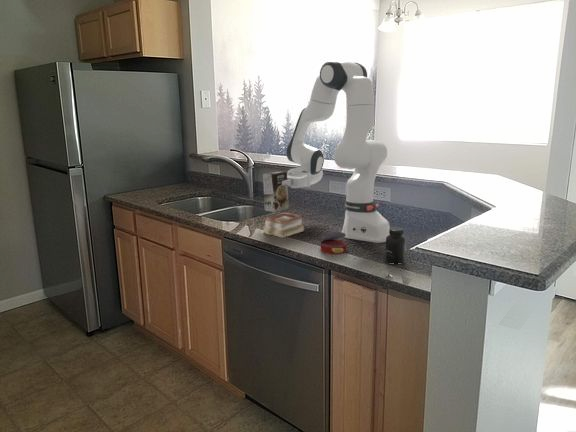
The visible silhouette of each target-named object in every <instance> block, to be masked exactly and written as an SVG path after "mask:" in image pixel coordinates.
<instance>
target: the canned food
mask: <svg viewBox="0 0 576 432" xmlns="http://www.w3.org/2000/svg"><path fill="white" fill-rule="evenodd" d="M345 235H346V234H344V233H342V231H333V232H329V233H327V234H326V235H324V236H323V237H322V238H320V240H319V241H320V252H321V253H323V252H324V254H327V253H328V254H327V255H342V254H345V253H346V252H347V251H348V250H347V248H348V243H347V241H345V240H342V239H341V238H345V237H344V236H345ZM341 253H342V254H341Z"/></svg>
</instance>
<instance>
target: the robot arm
mask: <svg viewBox="0 0 576 432" xmlns="http://www.w3.org/2000/svg"><path fill="white" fill-rule="evenodd" d="M341 91H343V92H344V93H345V95H346V96H345V97H346V117H345V118H346V119H345V120H346V125H345V129H344V133H343V136H342V138H341V141H339V144H338V145H336V147H335V148H334V152H333V160H334V162H335V165H337V167H338V168H341V169H348V170H354V171H353V173H352V175H351V177H349V178H348V179H347V181H346V187H345V188H346V191H345V192H346V193H345V194H346V195H345V196H346V197H345V198H346V199H345V200H344V211H345V214H344V221H343V226H342V229H341V233H344V234H346V235H345V236H344V237H343V238H345V239H351V240H357V241H365V242H370V243H376V244H380V243H386V237H387V236H388V235H390V234H389V229H390V228H391V227H390V223H389V220H387V219H386V218H385V217H384V216H383V215H382V214H381V213H380V212H379V211H378V210H377V208H378V206H379V203H375V201H374V188H375V187H374V186H375V182H376V181H375V180H376V178H377V174H378V171H379V169H380V168H381V165H382V164H383V163H385V161H386V159H387V157H388V149H387V145H385V143H384V142H382V141H379V140H377V139H367V137H368V135H369V132H370V131H371V129H372V128H373V127H374V126H375V92H374V86H373V82H372V80H371V79H370V78H369V77H368V70H367V69H366V67H365V66H364V65H362V64H360V63H359V62H353V61H348V60H334V59H333V60H329V61H326V62H324V63H323V64H322V66H321V68H320V71H319V75H318V76H317V77H316V80H315V82H314V84H313V88H312V90H311V94H310V98H309V102H308V105H306V106H305V107H304V108H303V109H302V110H301V112H300V113H299V116H298V119H297V121H296V124H295V127H294V130H293V134H292V137H291V139H290V141H289V143H288V145H287V147H286V149H285V151H286V152H285V153H286V158H287V159H288V161H289V162H291V163H294V164H298V165H300V166H299V167H294V168H289V170H288V171H286V172H287V180H282V181H280V185H288V186H289V188H292V189H299V188H310V187H311V186H312V185H315V184H317V183H318V182H320V181H321V180H322V178H323V175H324V171H323V166H324V163H325V157H324V153H323V151H322V150H321V149H318V148H316V147H314V146H311V145H309V144H306V143H305V137H306V134H307V131H308V129H309V126H310V125H311V124H312V123H315V122H316V123H318V122H324V121H326V120H328V119H330V118H331V116H333V114H334V111H335V109H336V108H335V107H336V105H337V104H336V103H337V98H338V94H339V92H341Z"/></svg>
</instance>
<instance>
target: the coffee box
mask: <svg viewBox="0 0 576 432" xmlns="http://www.w3.org/2000/svg"><path fill="white" fill-rule="evenodd" d="M287 172H288V171H280V170H279V171H272V172H267V173H266V172H265V173H262V180H263V181H262V183H263V200H264V201H263V202H264V203H263V204H264V205H263V206H264V211H265V212H266V211H267V212H273V213H275V212H276V213H277V212H280V211H284V210H287V209H289V207H290V206H289V189H288V186H289V185H280V181H282V180H287Z"/></svg>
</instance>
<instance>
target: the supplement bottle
mask: <svg viewBox="0 0 576 432" xmlns="http://www.w3.org/2000/svg"><path fill="white" fill-rule="evenodd" d="M404 231H405V230H404V228H403V227H398V226H391V227H390V229H389V234H390V235H388V236H387V237H386V242H385V245H384V247H385V250H384V262H385V263H387V262H388V263H387V264H389V263H394V264H398V263H403V262H404V263H405V261H406V260H405V258H406V246H407V238H406V237H405V236H404V234H405V232H404ZM404 263H403V264H404Z"/></svg>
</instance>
